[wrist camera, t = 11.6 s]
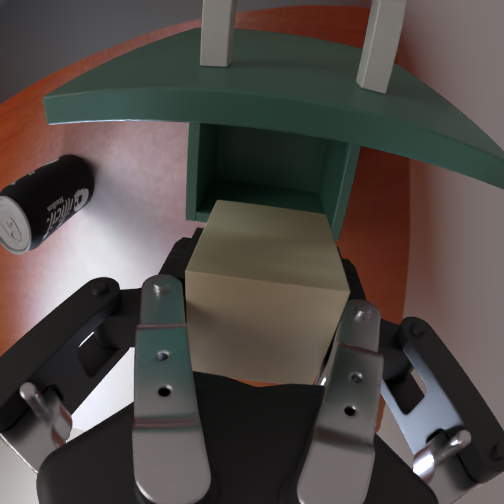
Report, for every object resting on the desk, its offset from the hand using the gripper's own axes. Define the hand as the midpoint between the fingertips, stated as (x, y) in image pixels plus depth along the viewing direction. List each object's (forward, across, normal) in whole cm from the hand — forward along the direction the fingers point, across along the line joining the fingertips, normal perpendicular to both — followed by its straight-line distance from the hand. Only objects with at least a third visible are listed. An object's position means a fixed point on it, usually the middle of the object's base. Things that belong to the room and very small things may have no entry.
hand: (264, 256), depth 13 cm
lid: (+2, 0, -8) cm, 8 cm away
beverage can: (+18, +22, +4) cm, 29 cm away
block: (0, 0, 0) cm, 0 cm away
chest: (+18, 0, -3) cm, 18 cm away
